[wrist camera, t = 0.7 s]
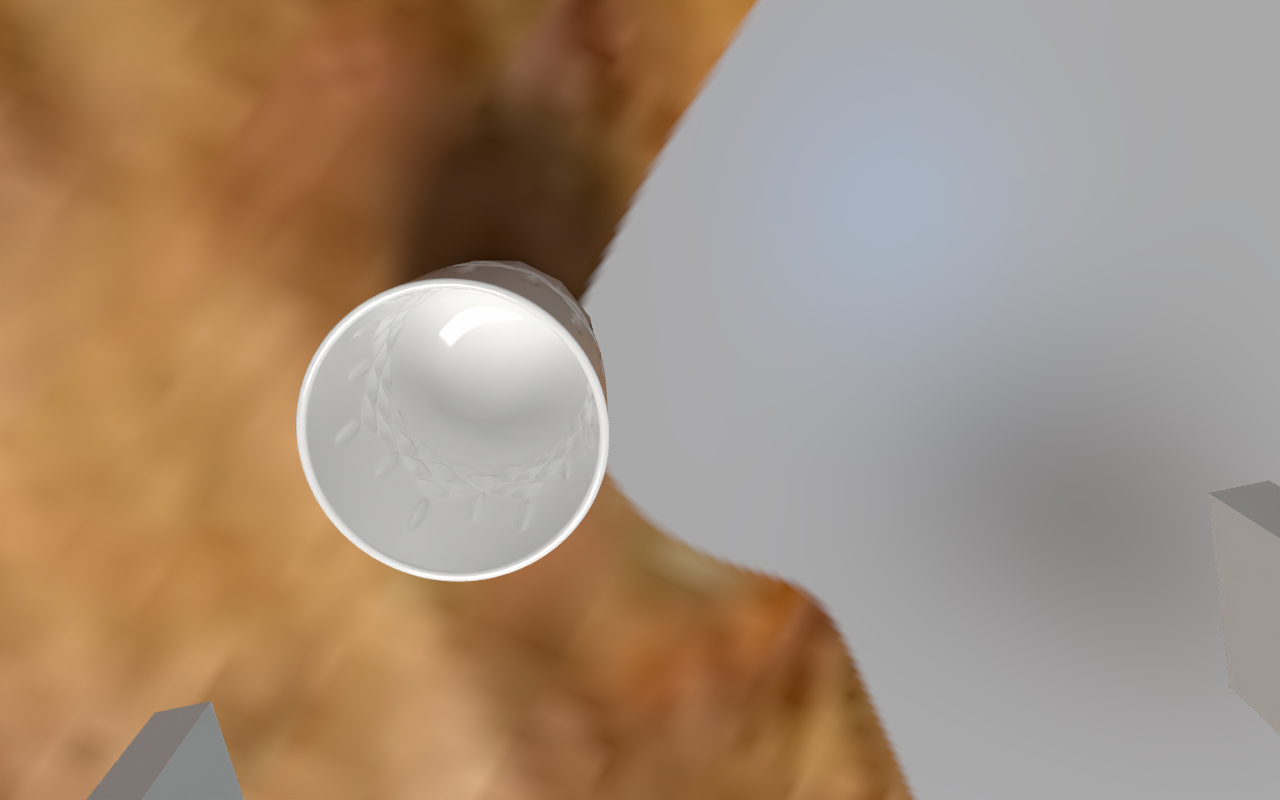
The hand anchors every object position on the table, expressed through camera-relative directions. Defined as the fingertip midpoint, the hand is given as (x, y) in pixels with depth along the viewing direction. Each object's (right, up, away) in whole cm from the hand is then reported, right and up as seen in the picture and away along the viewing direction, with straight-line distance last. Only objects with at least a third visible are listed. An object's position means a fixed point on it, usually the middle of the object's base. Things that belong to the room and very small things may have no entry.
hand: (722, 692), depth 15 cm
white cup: (-6, +5, +24) cm, 25 cm away
